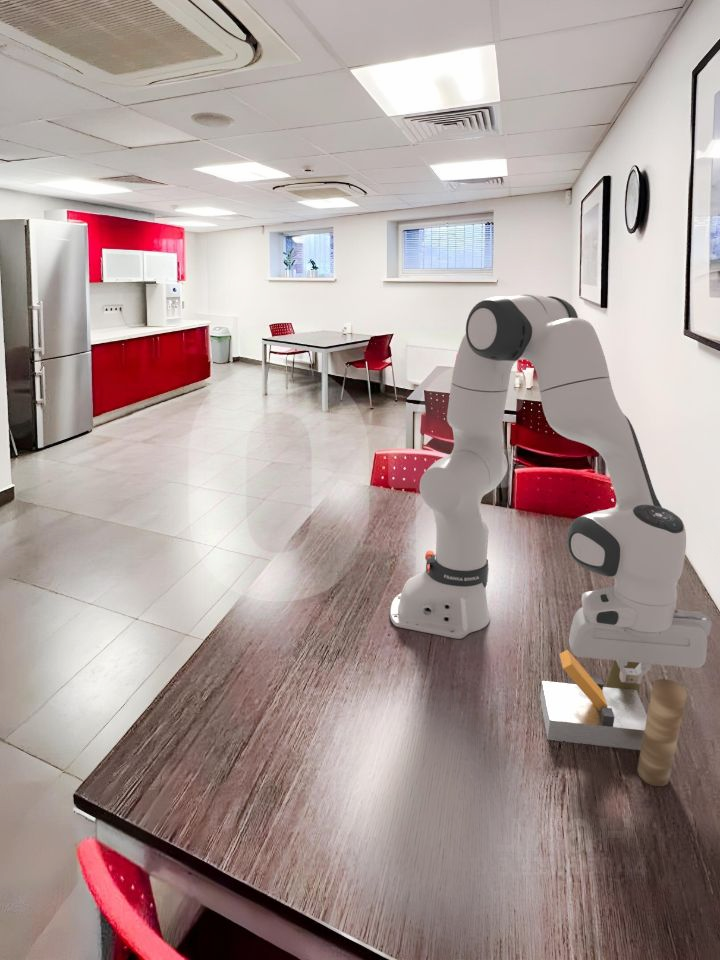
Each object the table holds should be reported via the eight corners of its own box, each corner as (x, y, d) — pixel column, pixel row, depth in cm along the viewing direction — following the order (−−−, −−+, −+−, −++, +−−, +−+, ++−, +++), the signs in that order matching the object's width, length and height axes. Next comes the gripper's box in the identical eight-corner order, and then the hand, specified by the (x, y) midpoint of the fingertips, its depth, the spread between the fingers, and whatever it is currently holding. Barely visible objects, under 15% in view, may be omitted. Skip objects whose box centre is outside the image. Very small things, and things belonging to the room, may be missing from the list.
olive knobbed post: (598, 683, 110) (605, 633, 107) (628, 681, 111) (637, 631, 107) (613, 705, 105) (622, 653, 101) (646, 703, 105) (655, 651, 101)
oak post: (641, 784, 88) (658, 697, 83) (633, 762, 92) (649, 677, 87) (672, 788, 88) (691, 700, 82) (663, 765, 92) (680, 680, 86)
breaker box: (547, 739, 97) (551, 710, 95) (540, 699, 106) (543, 671, 104) (650, 751, 94) (655, 721, 92) (633, 708, 104) (638, 680, 102)
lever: (602, 715, 97) (563, 669, 95) (596, 697, 101) (559, 653, 99) (610, 710, 96) (571, 664, 95) (604, 693, 100) (567, 648, 99)
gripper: (706, 602, 93) (690, 675, 98) (572, 592, 97) (563, 662, 101) (722, 624, 87) (704, 700, 92) (579, 612, 91) (569, 686, 95)
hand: (629, 680), depth 96 cm, fingers closed
